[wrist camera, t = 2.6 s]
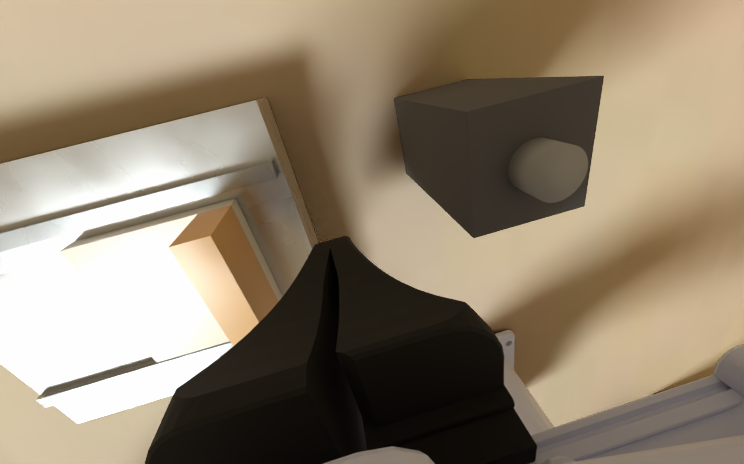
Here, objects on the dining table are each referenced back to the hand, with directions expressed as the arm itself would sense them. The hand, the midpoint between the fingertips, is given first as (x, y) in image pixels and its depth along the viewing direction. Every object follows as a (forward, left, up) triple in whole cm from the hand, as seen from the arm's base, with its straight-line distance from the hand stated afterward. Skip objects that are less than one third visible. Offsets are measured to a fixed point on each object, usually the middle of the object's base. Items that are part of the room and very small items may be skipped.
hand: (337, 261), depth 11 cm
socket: (0, +8, -4) cm, 9 cm away
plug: (+3, -6, -4) cm, 8 cm away
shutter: (0, +6, -2) cm, 6 cm away
